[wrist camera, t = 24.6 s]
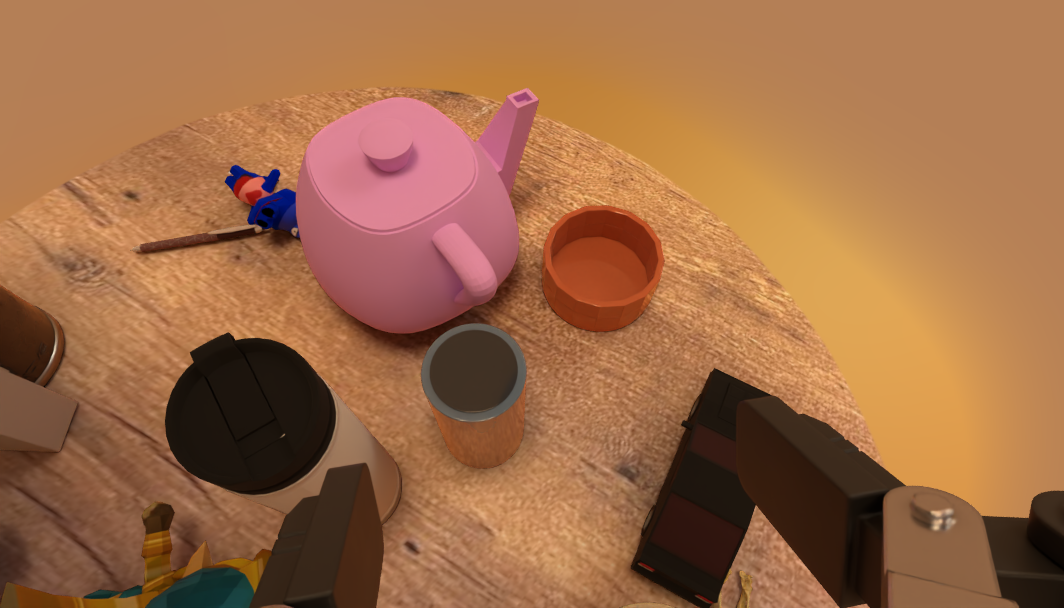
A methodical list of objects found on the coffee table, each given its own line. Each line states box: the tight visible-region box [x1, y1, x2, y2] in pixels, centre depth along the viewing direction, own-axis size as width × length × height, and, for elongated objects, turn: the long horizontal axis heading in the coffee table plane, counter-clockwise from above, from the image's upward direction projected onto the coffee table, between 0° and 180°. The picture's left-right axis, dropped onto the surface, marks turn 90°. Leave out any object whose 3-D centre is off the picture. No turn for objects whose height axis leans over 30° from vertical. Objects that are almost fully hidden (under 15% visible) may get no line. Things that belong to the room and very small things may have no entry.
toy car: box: [631, 368, 772, 608], centre depth 40 cm, size 7×16×5 cm, turn 152°
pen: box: [131, 225, 265, 252], centre depth 50 cm, size 11×1×1 cm, turn 103°
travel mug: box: [165, 332, 402, 525], centre depth 33 cm, size 6×7×20 cm
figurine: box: [225, 165, 300, 238], centre depth 50 cm, size 5×8×5 cm, turn 43°
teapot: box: [296, 88, 539, 333], centre depth 44 cm, size 20×20×15 cm
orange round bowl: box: [542, 205, 665, 332], centre depth 48 cm, size 9×9×4 cm
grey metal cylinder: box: [421, 324, 527, 469], centre depth 39 cm, size 6×6×12 cm
